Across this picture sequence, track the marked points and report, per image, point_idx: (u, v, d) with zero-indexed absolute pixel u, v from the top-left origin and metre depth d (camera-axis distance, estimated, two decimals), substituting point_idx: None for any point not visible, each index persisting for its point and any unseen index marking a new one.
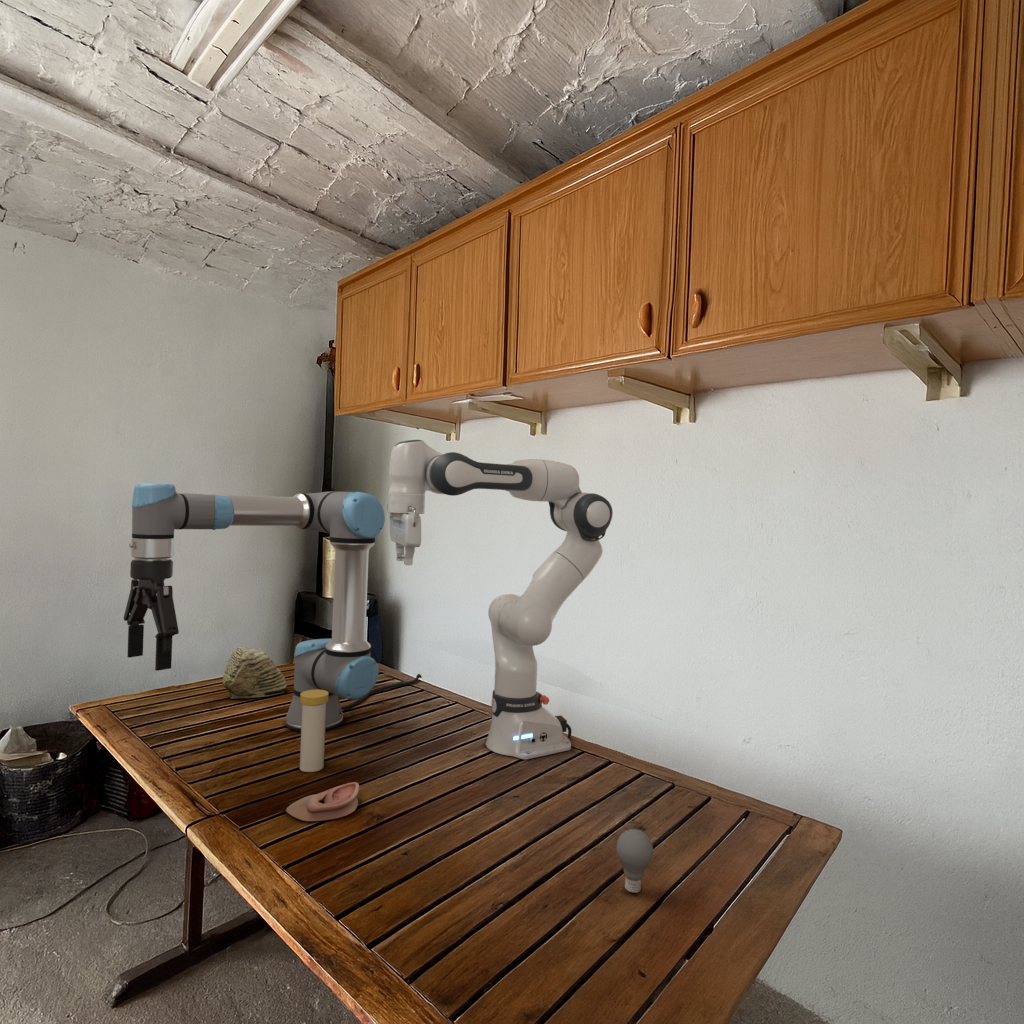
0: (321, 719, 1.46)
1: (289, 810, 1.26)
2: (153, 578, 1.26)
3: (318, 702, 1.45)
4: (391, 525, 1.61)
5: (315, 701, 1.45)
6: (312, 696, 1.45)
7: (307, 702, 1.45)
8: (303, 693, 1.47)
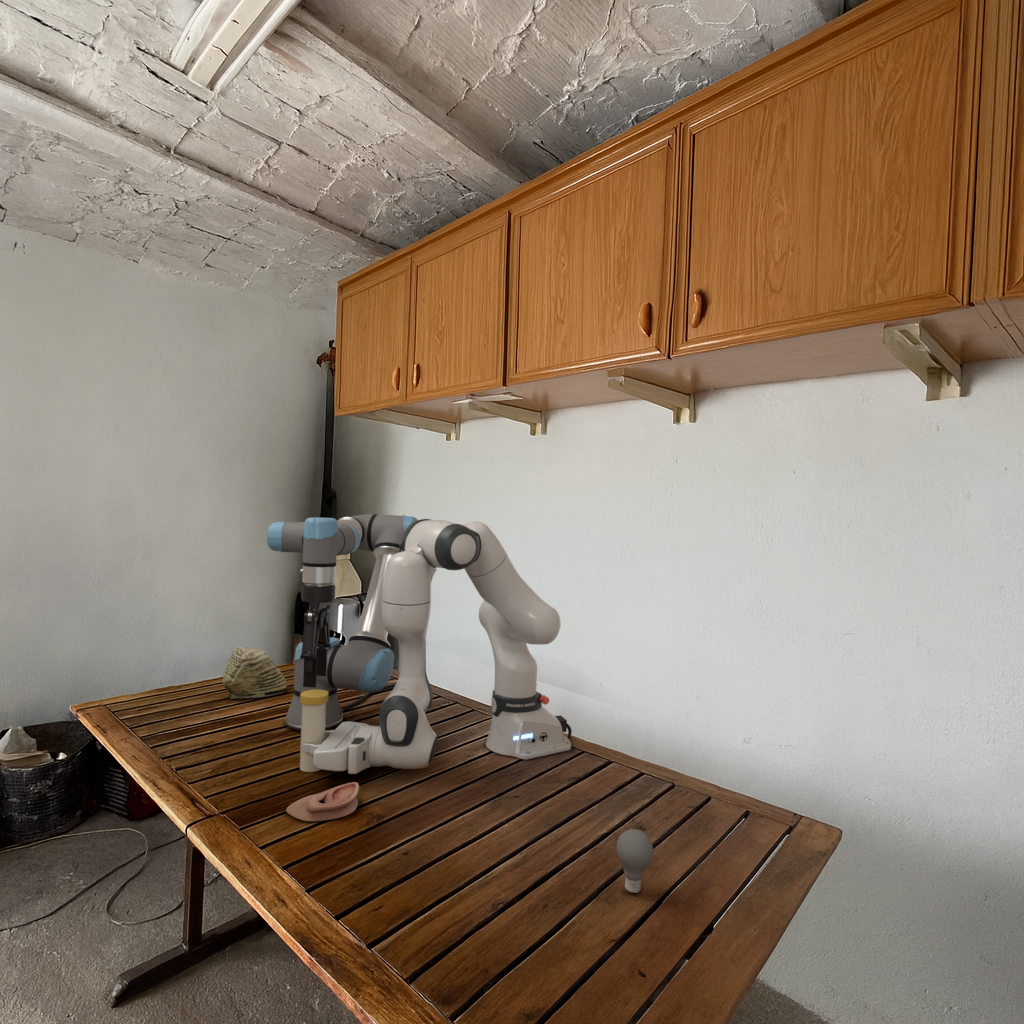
0: (321, 719, 1.46)
1: (289, 810, 1.26)
2: (309, 601, 1.44)
3: (318, 702, 1.45)
4: None
5: (315, 700, 1.45)
6: (312, 696, 1.45)
7: (307, 702, 1.45)
8: (303, 693, 1.47)
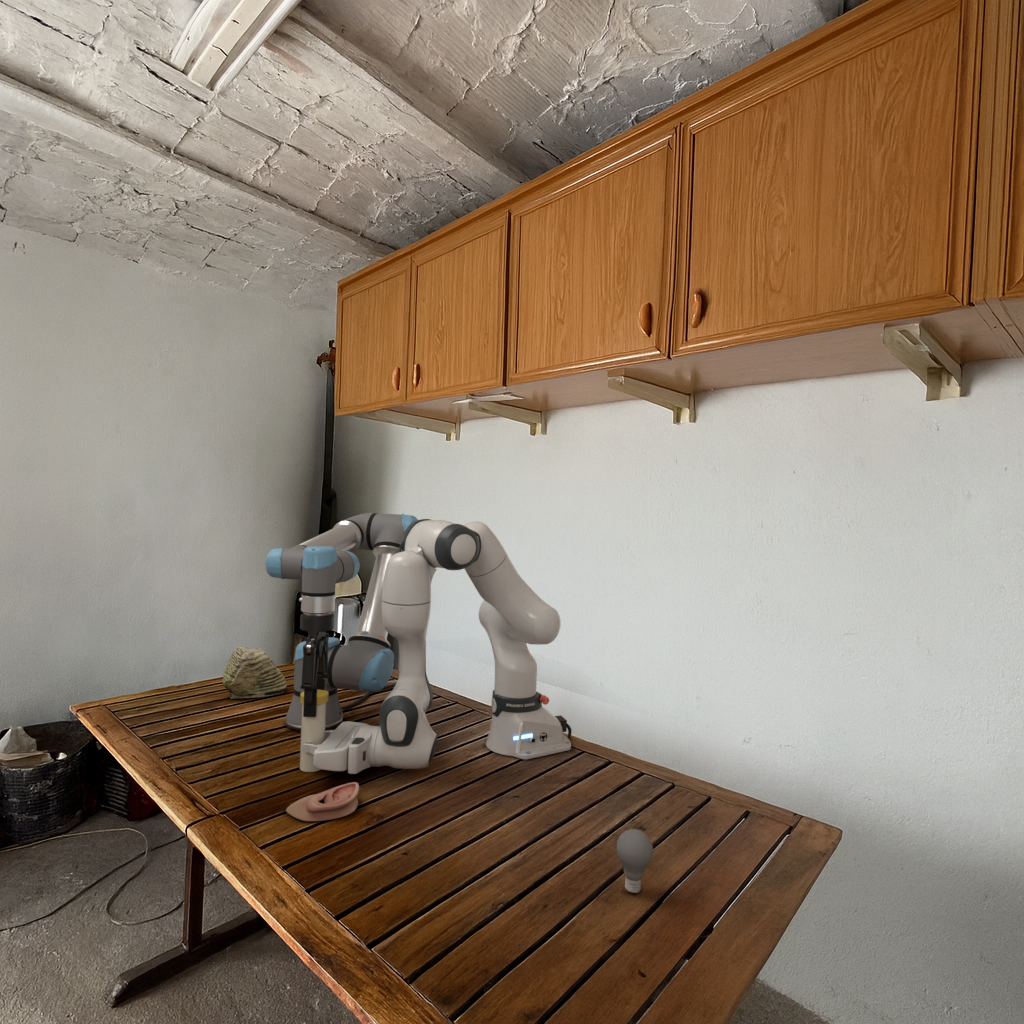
0: (321, 719, 1.46)
1: (289, 810, 1.26)
2: (307, 631, 1.44)
3: (318, 702, 1.45)
4: None
5: None
6: None
7: None
8: (303, 693, 1.47)
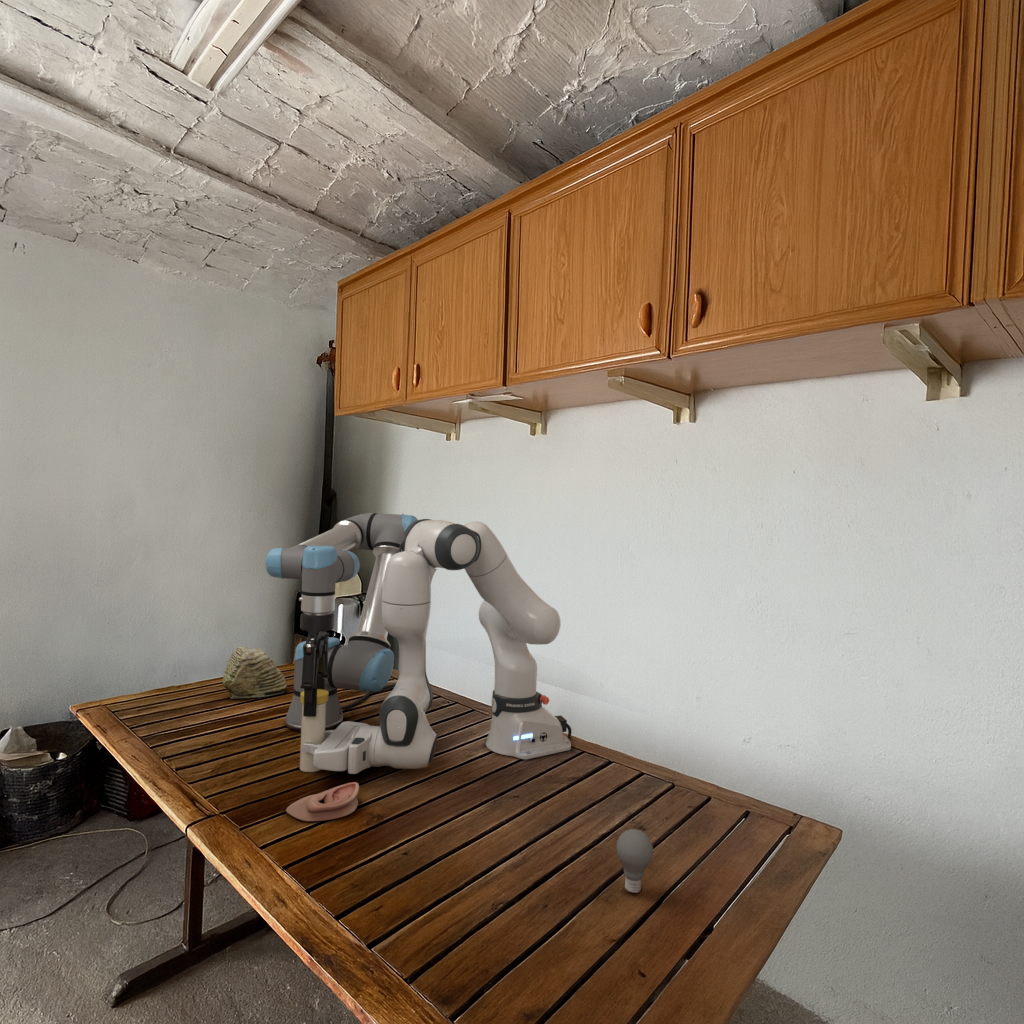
0: (321, 719, 1.46)
1: (289, 810, 1.26)
2: (308, 630, 1.44)
3: None
4: None
5: (327, 695, 1.49)
6: (324, 693, 1.48)
7: (326, 699, 1.47)
8: None
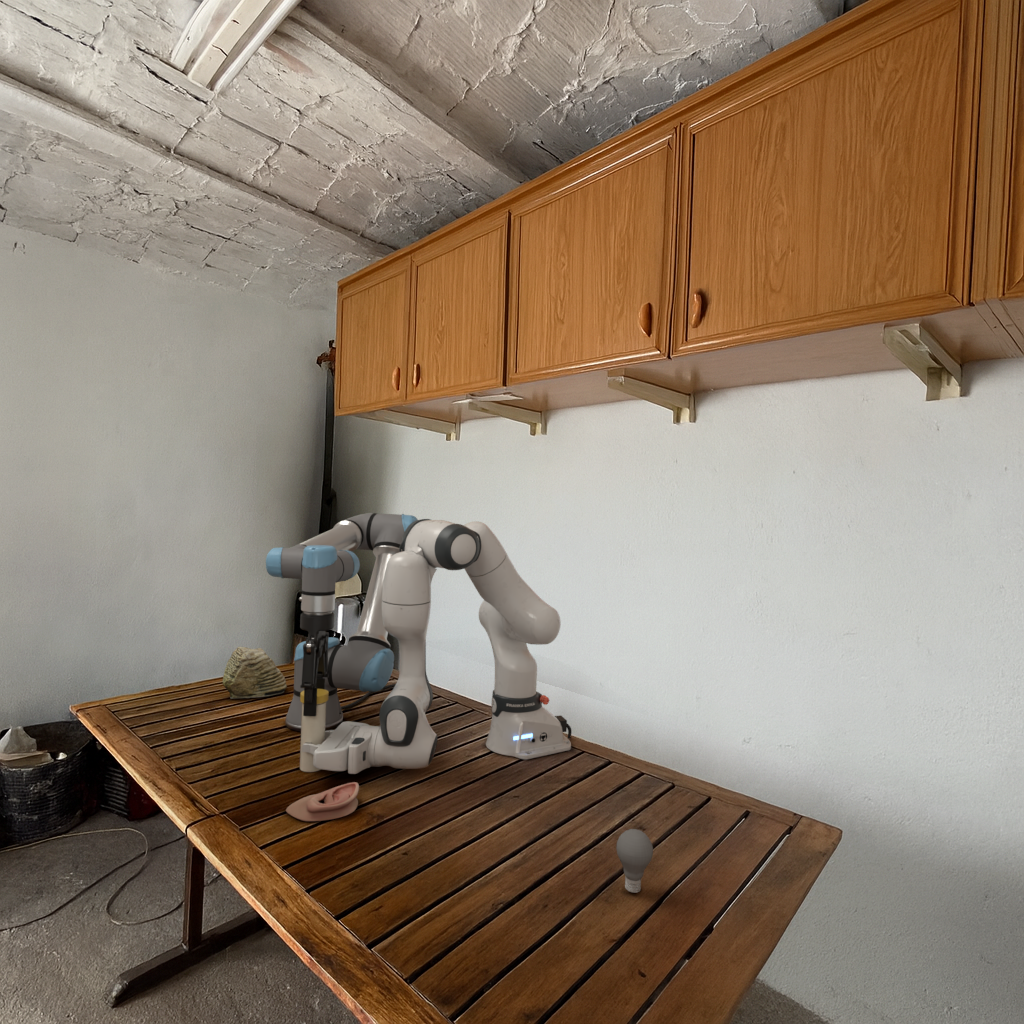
0: (322, 719, 1.46)
1: (289, 810, 1.26)
2: (308, 630, 1.44)
3: None
4: None
5: None
6: None
7: None
8: (325, 692, 1.48)
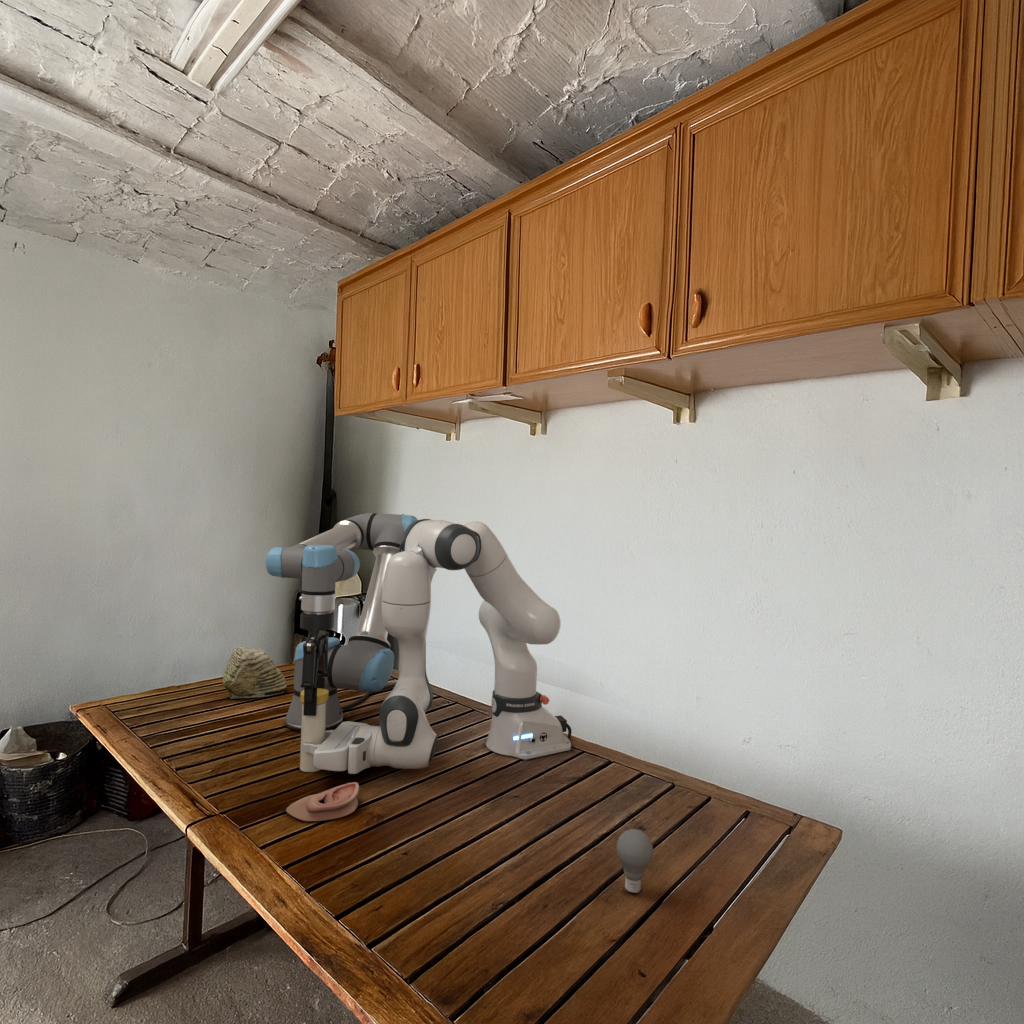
0: (322, 719, 1.46)
1: (289, 810, 1.26)
2: (308, 629, 1.44)
3: (301, 698, 1.46)
4: None
5: (300, 696, 1.47)
6: None
7: None
8: None
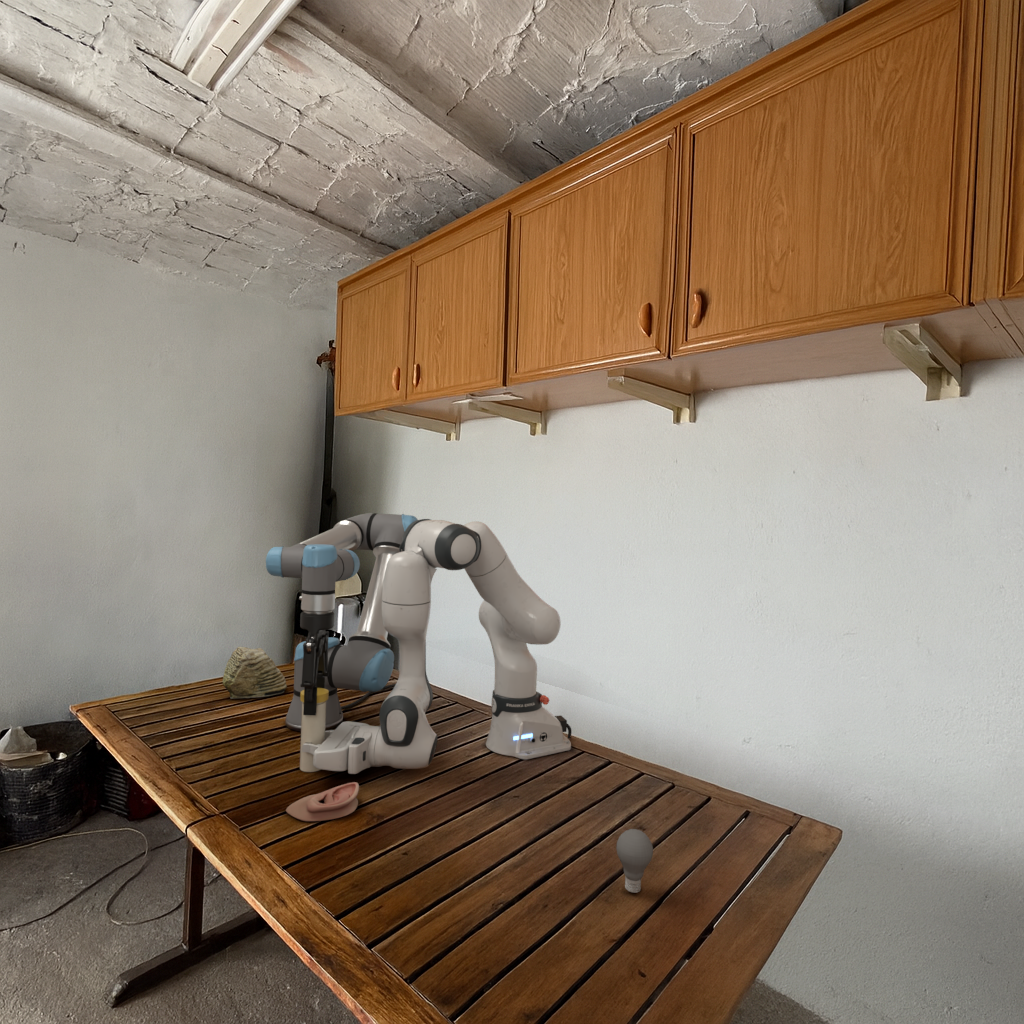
0: (322, 719, 1.46)
1: (289, 810, 1.26)
2: (308, 629, 1.44)
3: (318, 700, 1.45)
4: None
5: None
6: None
7: None
8: (303, 691, 1.47)
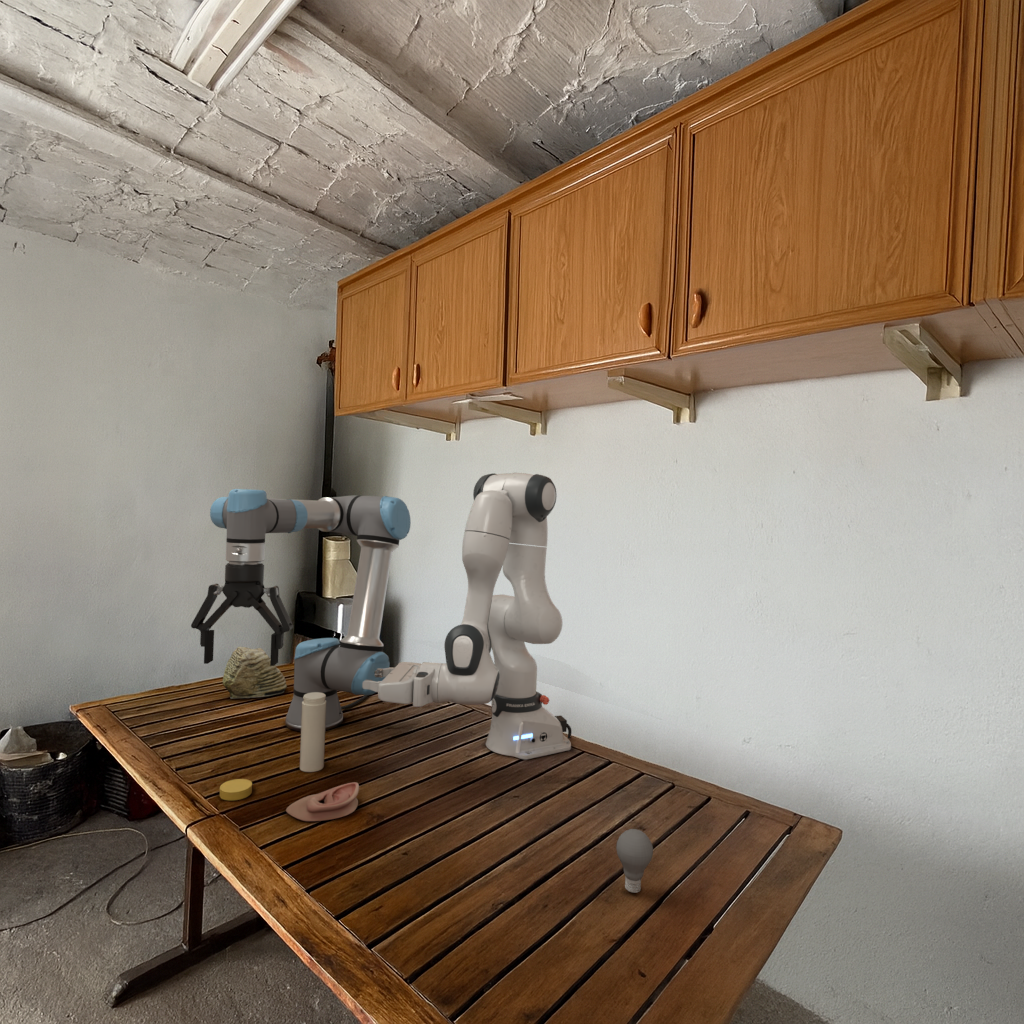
0: (321, 719, 1.46)
1: (289, 810, 1.26)
2: (260, 580, 1.32)
3: None
4: None
5: (251, 787, 1.35)
6: (247, 785, 1.34)
7: (249, 792, 1.33)
8: (232, 790, 1.31)
